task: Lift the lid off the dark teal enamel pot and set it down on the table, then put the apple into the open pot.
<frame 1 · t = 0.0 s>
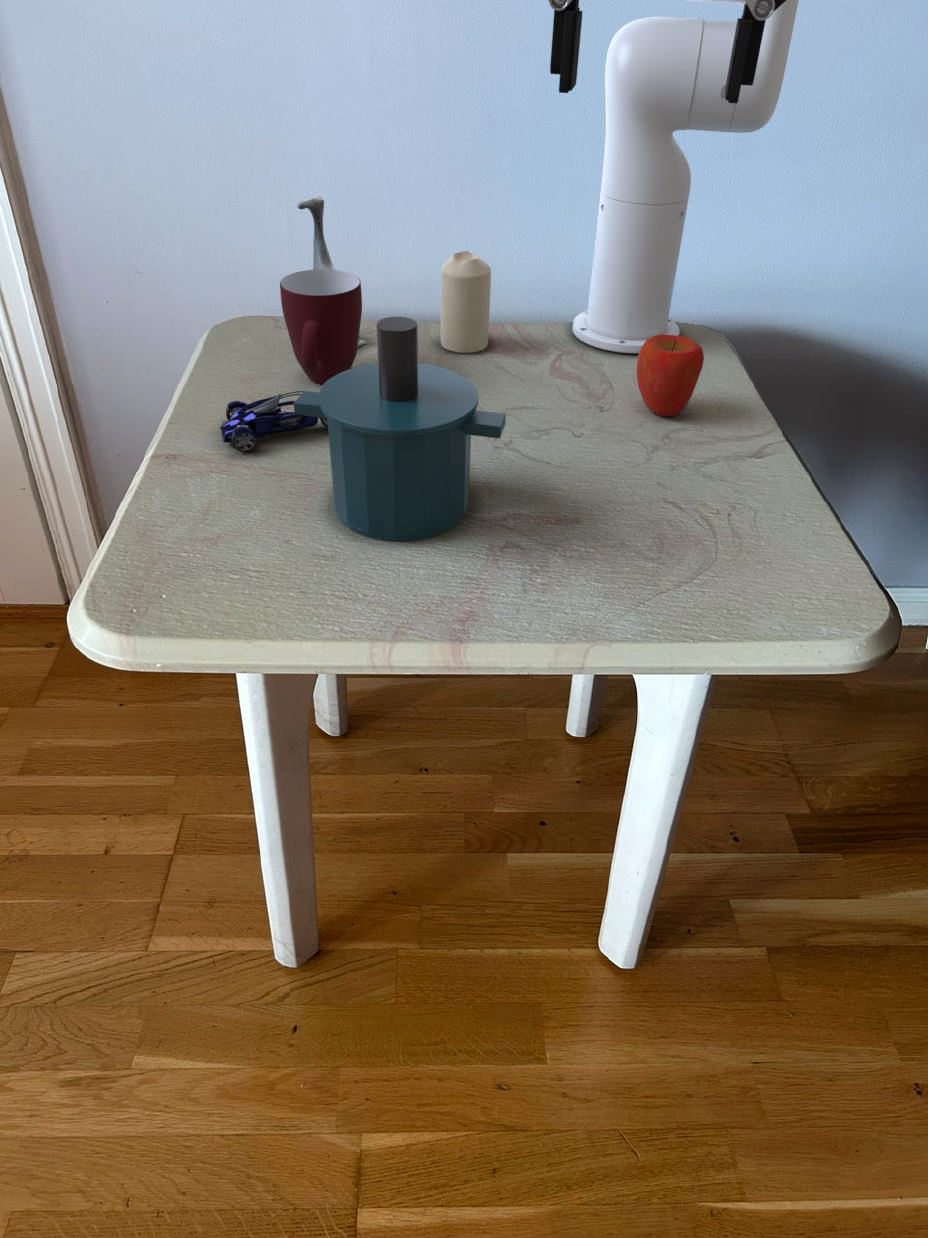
hand: (648, 94, 53), 31 cm above the table, tool pointing down, fingers open, 9 cm apart
apple: (661, 412, 91), on the table
figurine: (337, 346, 103), on the table
pot: (401, 504, 76), on the table
candle: (464, 345, 104), on the table
toy car: (286, 434, 85), on the table
mug: (326, 383, 95), on the table
lid: (398, 399, 70), point 9 cm above the table, touching pot
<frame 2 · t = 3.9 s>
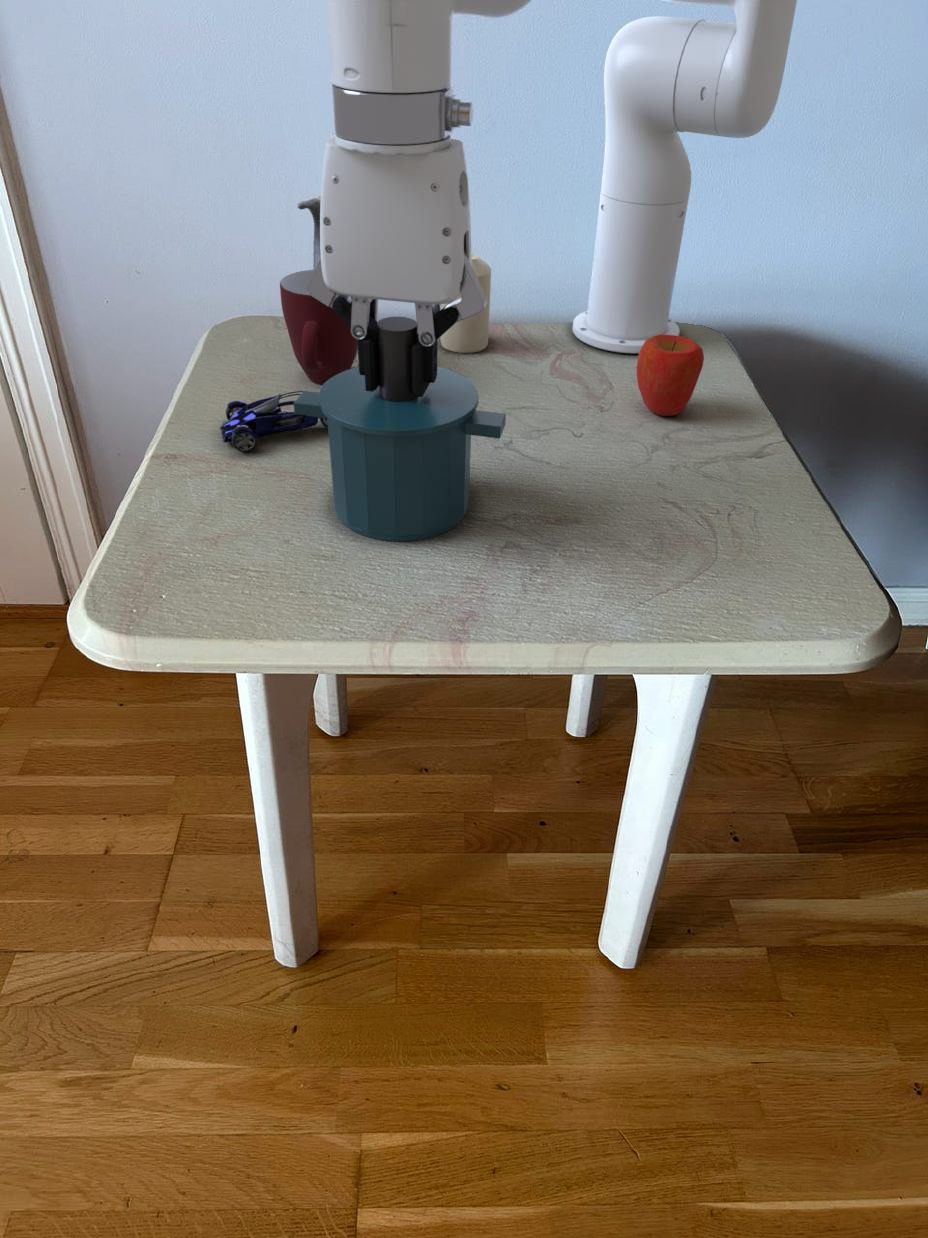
hand: (398, 384, 69), 11 cm above the table, tool pointing down, fingers closed on lid, 3 cm apart
lid: (398, 399, 70), point 10 cm above the table, touching gripper, pot
everything else where it was.
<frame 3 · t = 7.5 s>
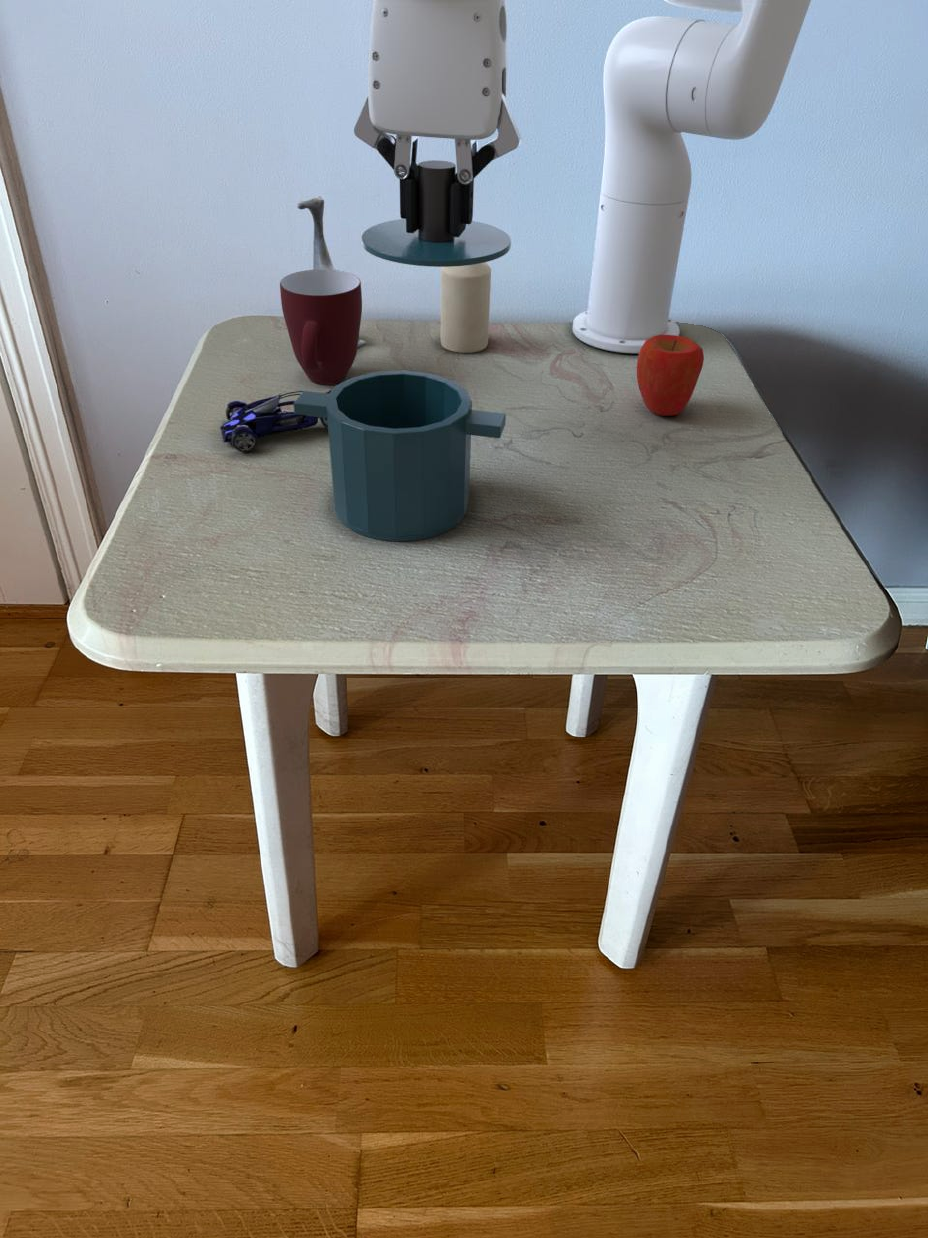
hand: (436, 228, 74), 19 cm above the table, tool pointing down, fingers closed on lid, 3 cm apart
lid: (436, 243, 74), point 18 cm above the table, touching gripper
everything else where it was.
when the fingers open (2 cm above the table, at t = 11.4 s): lid stays where it is, point 1 cm above the table.
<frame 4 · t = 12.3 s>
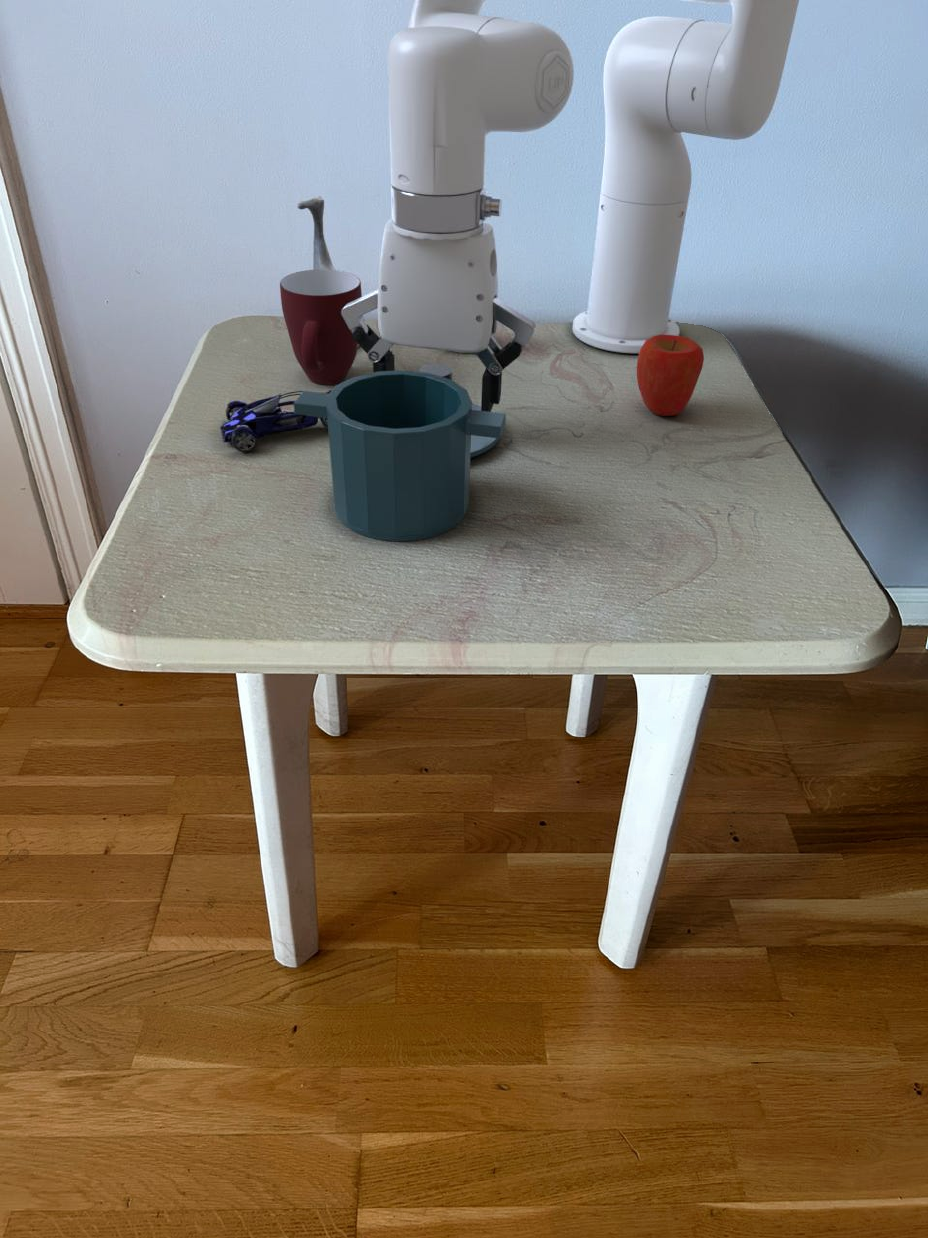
hand: (437, 403, 84), 3 cm above the table, tool pointing down, fingers open, 9 cm apart
lid: (435, 430, 85), point 1 cm above the table
everything else where it was.
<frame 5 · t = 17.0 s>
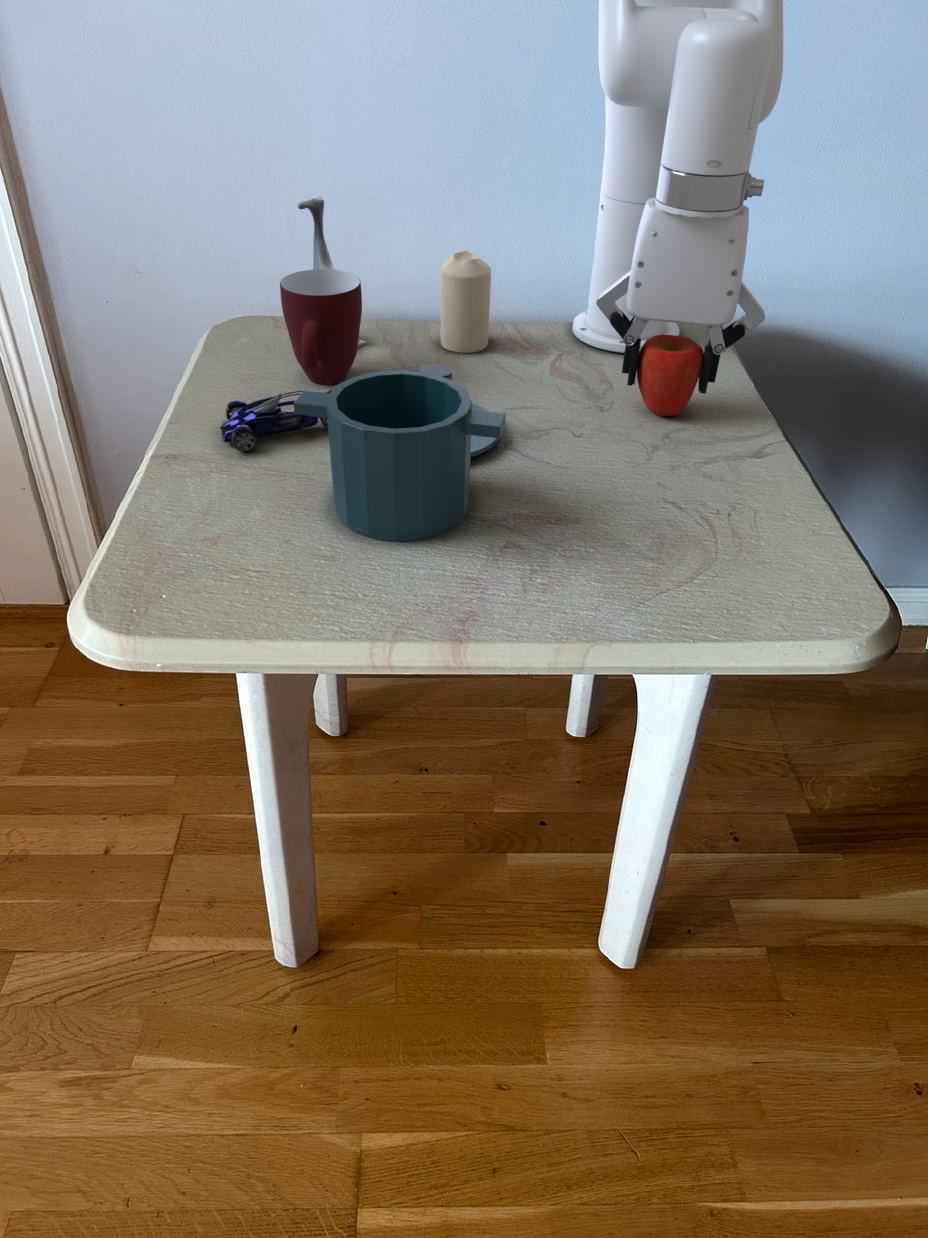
hand: (666, 382, 89), 3 cm above the table, tool pointing down, fingers closed on apple, 6 cm apart
apple: (661, 412, 91), on the table, touching gripper
everything else where it was.
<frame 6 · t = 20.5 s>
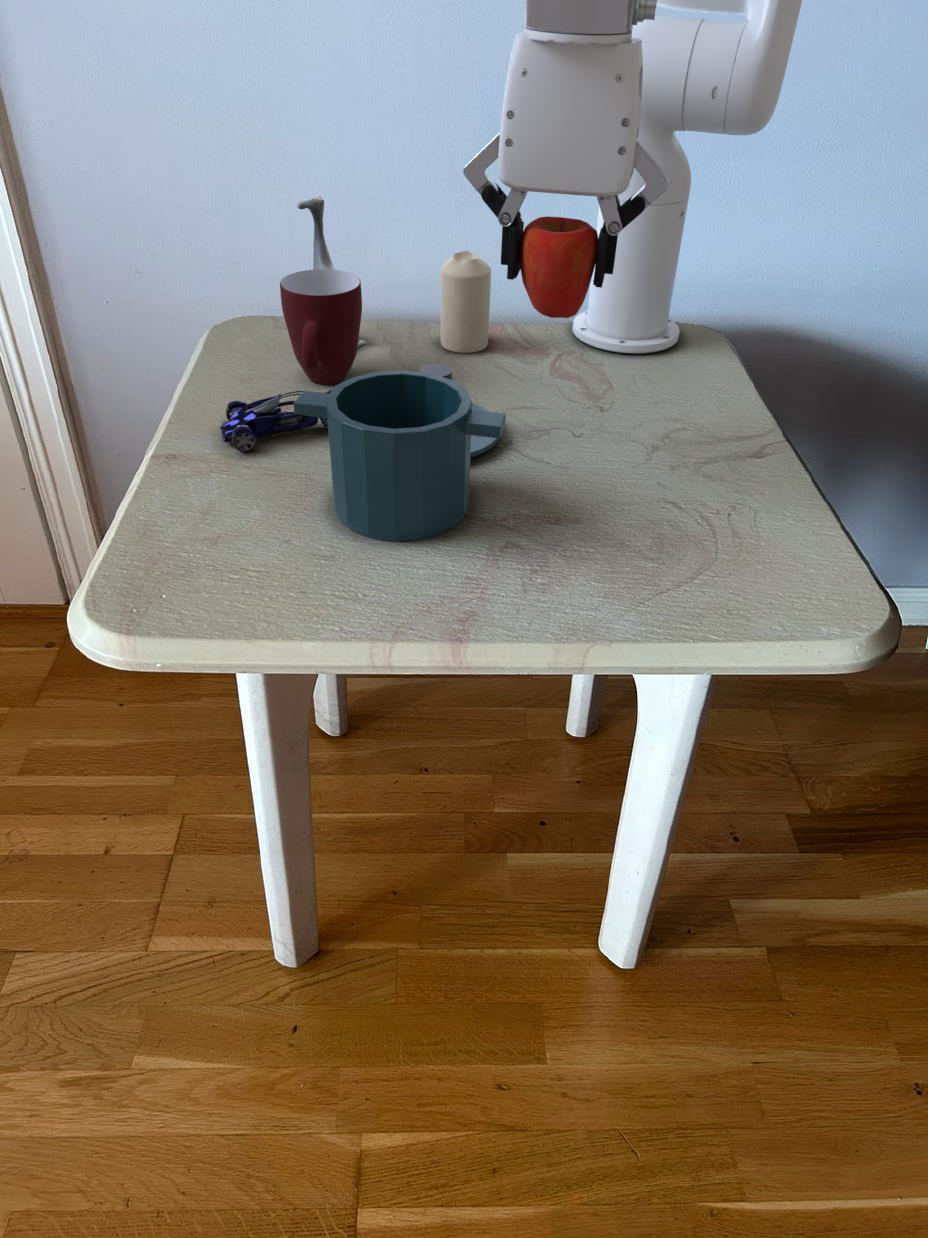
hand: (556, 276, 73), 16 cm above the table, tool pointing down, fingers closed on apple, 6 cm apart
apple: (552, 315, 75), point 13 cm above the table, touching gripper
everything else where it was.
when the fingers open (11 cm above the table, at t = 23.9 s): apple drops 8 cm, resting on pot.
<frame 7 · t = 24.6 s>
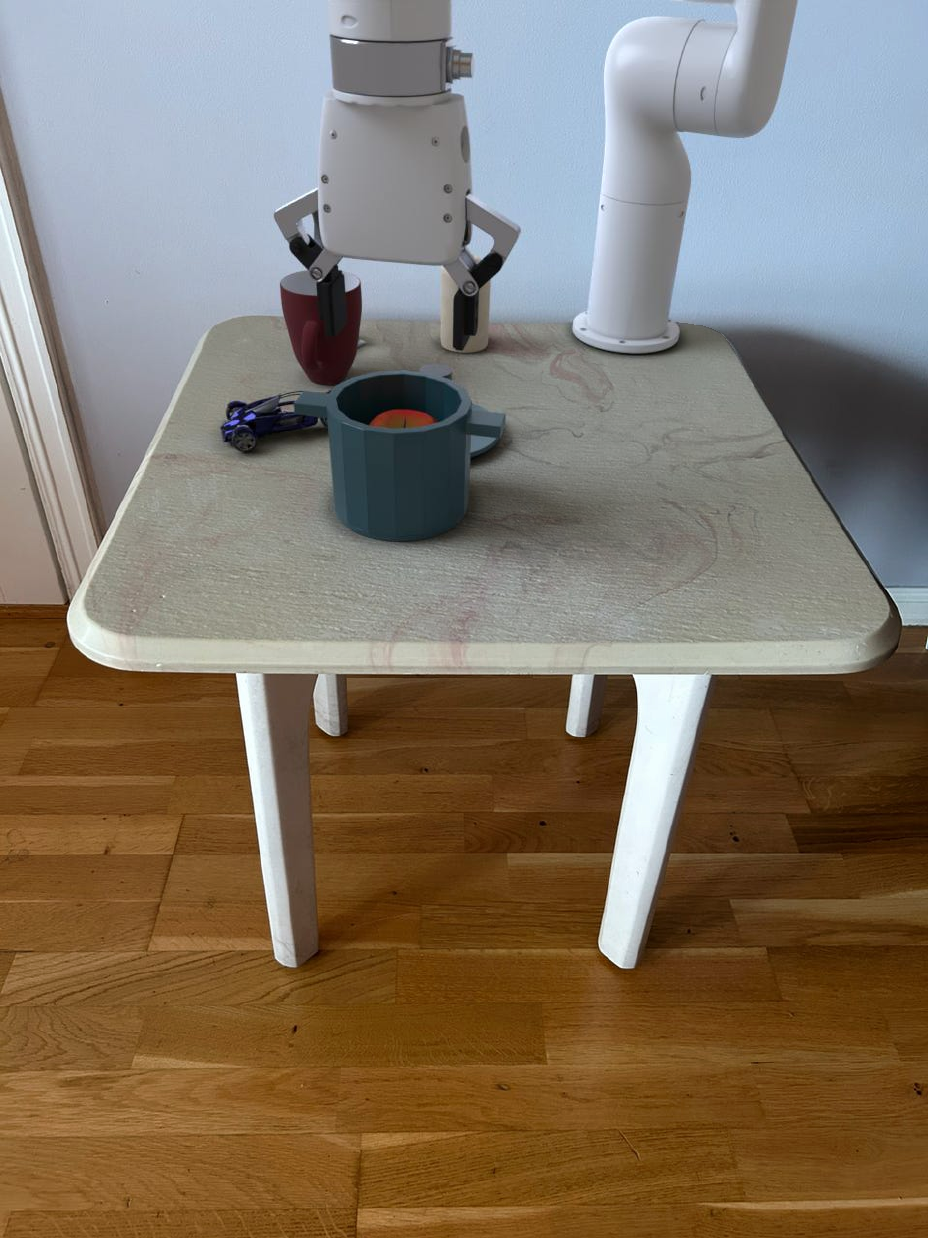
hand: (398, 337, 67), 14 cm above the table, tool pointing down, fingers open, 9 cm apart
apple: (405, 501, 75), resting on pot
everything else where it was.
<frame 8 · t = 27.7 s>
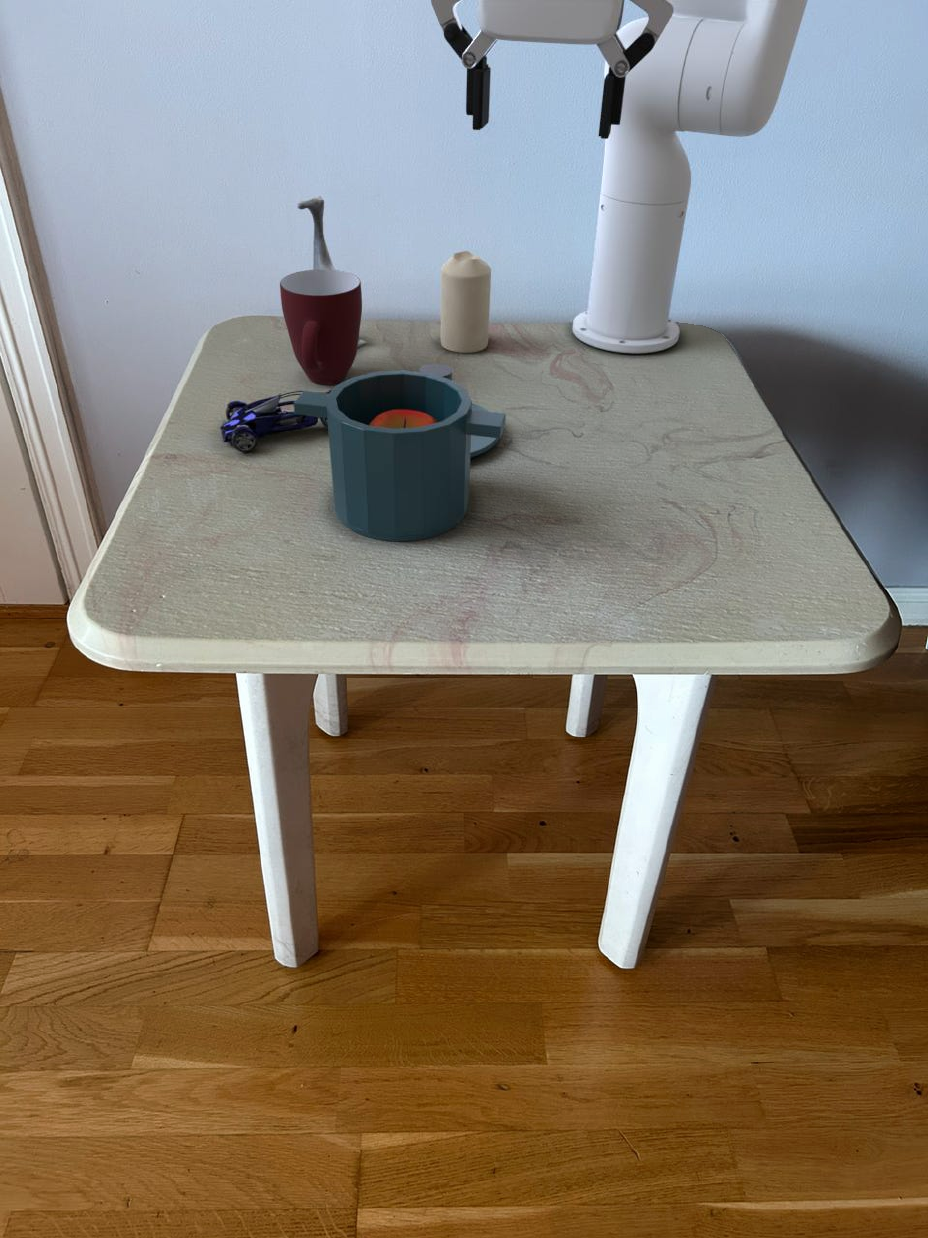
hand: (542, 130, 69), 26 cm above the table, tool pointing down, fingers open, 9 cm apart
nothing on the table moved.
at the end: apple inside the target area in the pot (0.4 cm from its centre), point 0.3 cm above the pot's base; lid inside the target area on the table beside the pot (0.1 cm from its centre), point 0.6 cm above the table; lid tilted 0° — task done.
